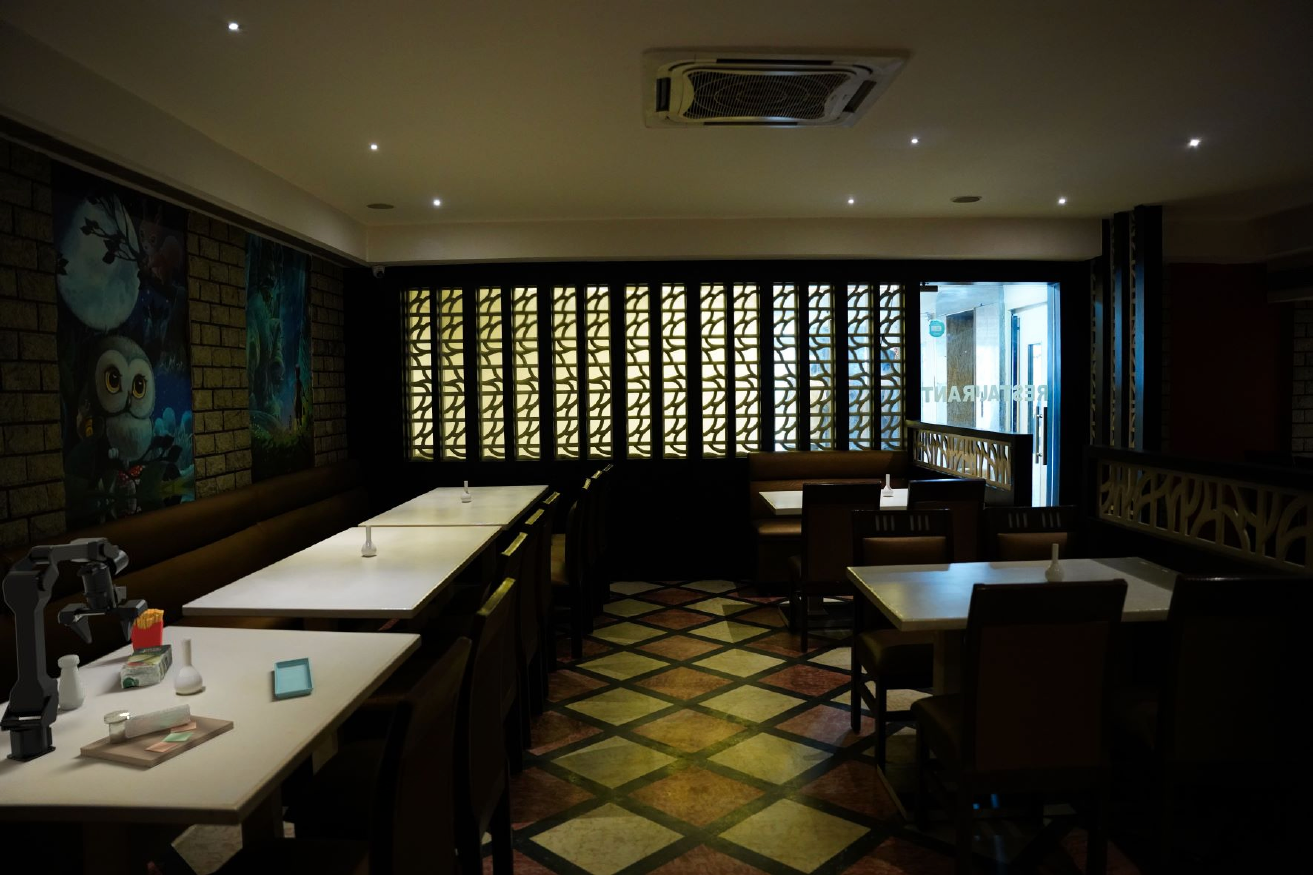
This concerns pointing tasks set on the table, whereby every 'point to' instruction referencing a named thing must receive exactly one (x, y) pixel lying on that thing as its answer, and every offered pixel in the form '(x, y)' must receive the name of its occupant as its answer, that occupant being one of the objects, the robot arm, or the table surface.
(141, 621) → the french fries
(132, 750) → the brown cutting board
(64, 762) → the table surface
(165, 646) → the juice carton
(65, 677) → the salt shaker
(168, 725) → the bar with metal cap
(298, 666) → the rectangular tray
